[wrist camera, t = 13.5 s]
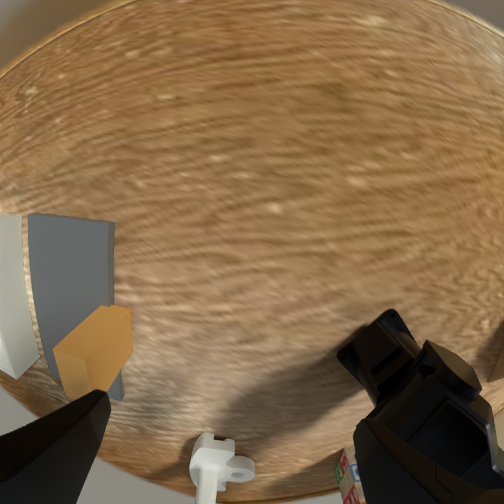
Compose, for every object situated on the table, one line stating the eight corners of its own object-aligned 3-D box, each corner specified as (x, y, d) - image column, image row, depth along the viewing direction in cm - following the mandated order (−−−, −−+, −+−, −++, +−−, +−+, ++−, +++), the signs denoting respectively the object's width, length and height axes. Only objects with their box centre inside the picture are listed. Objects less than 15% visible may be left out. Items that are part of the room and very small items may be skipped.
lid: (139, 223, 19) (73, 247, 11) (142, 394, 23) (114, 458, 14) (40, 211, 19) (-31, 226, 10) (58, 366, 23) (18, 412, 14)
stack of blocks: (466, 406, 26) (505, 454, 14) (451, 432, 27) (483, 479, 15) (341, 447, 25) (366, 525, 13) (332, 470, 27) (351, 539, 15)
